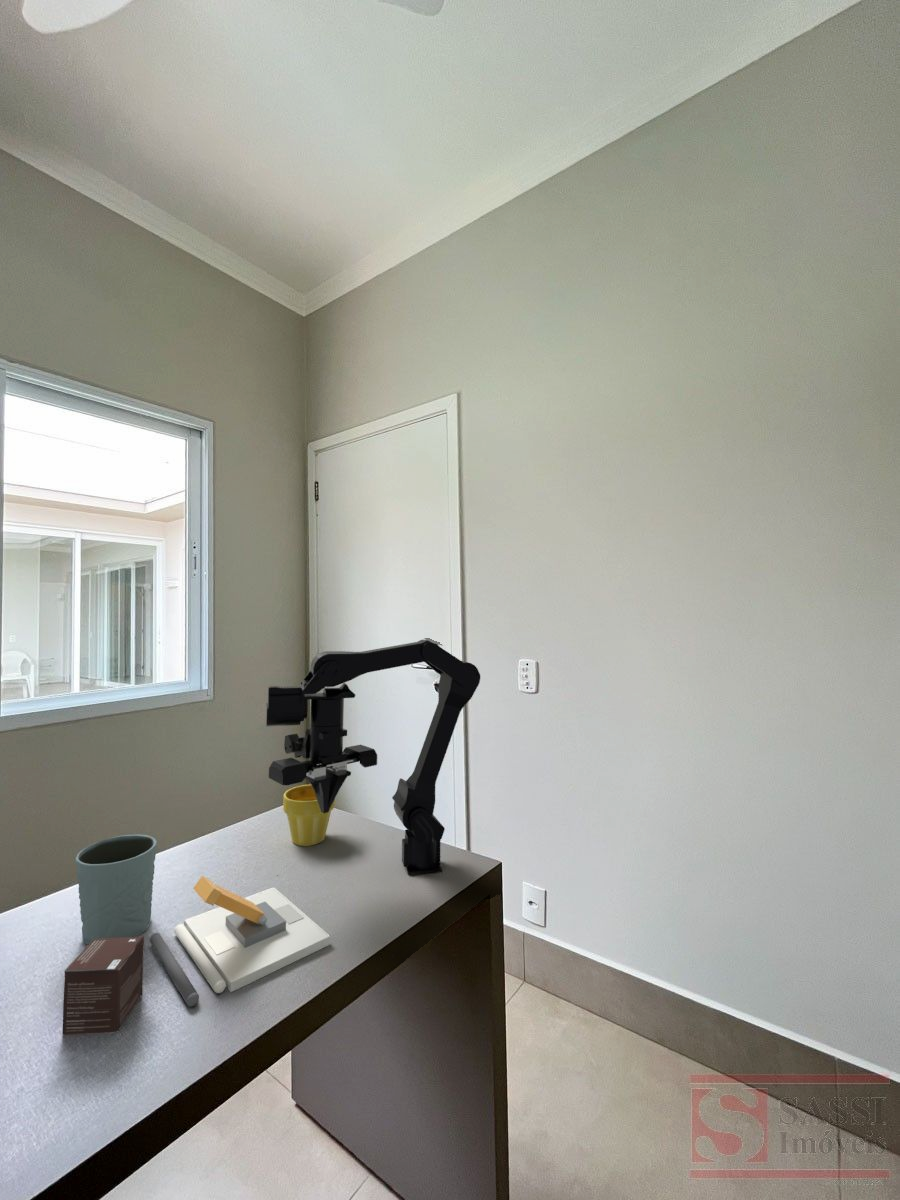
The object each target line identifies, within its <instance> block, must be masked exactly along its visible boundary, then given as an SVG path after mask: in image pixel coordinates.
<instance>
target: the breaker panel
mask: <svg viewBox="0 0 900 1200" xmlns="http://www.w3.org/2000/svg"><path fill="white" fill-rule="evenodd" d="M243 898H244V899H246V900H248V901H250V902H253V903H254V904H255V905H256V906H257V907H258V908H259V909H260V910H261V911H262V912H263V913H264V914H265V915H264V916H265V917H266V918H267V921H266V923H265V924H264V925H261V924H260V923H259V924H257V923H255V922H253V921H250V920H248V919H246V918H244V917H242V916H240V915H237V914H235V913H233V912H231V911H229V910H227V909H224V908H222V907H220V906H218V907H216V908H213V909H211V910H208V911H205V912H202V913H200V914H197V915H194V916H191V917H188V918H186V919H184V920H183V921H184V924H183V925H184V926H185V927H186V929H187V930H188V931H189V933H190V934H191V936H192V937H193V938H194V940H195V941H196V942H197V944H198V945H199V947H200V948H201V949H202V951H203V952H204V953H205V955H206V956H207V957H208V959H209V960H210V962H211V963H212V964H213V966H214V967H215V968H216V970H217V971H218V972H219V974H220V975H221V977H222V978H223V979H224V981H225V982H226V988H227V989H228V990H229V992H230V993H232V992H233V993H234V991H237V990H239V989H241V988H242V987H245V986H247V985H249V984H251V983H254V982H255V981H258V980H260V979H261V978H263V977H266V976H267V975H270V974H272V973H274V972H275V971H278V970H280V969H283V968H284V967H287V966H288V965H290V964H293V963H295V962H296V961H298V960H301V959H303V958H305V957H308V956H309V955H312V954H313V953H316V952H317V951H320V950H322V949H324V948H326V947H328V946H330V945H331V936H330V935H329V933H327V932H326V931H325V930H324V929H323V928H322V927H320V926H319V925H318V924H317V923H316V922H315V921H313V919H311V918H310V917H309V916H308V915H306V914H305V913H304V912H303V911H302V910H301V909H300V908H299V907H297V906H296V905H295V904H294V903H293V902H291V901H290V900H289V899H288V898H287V897H286V896H285V895H284V894H282V893H281V892H280V891H279V890H278V889H277V888H275V886H274V887H271V888H268V889H265V890H262V891H259V892H257V893H254V894H252V895H248V896H246V897H243Z"/></svg>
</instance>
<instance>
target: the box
mask: <svg viewBox="0 0 900 1200" xmlns="http://www.w3.org/2000/svg"><path fill="white" fill-rule="evenodd" d="M144 939H145V937H144V936H136V937H124V938H99V939H93V941H92V942H91V943H90V944H89V945H87V946H86V947H85V948H84V949H83V950H82V952H80V953H79V954H78V956H77V957H76V958H75V959H74V960H73V961H72V962H71V963H70V964H69V965H68V966H67V968H66V969H65V970H64V983H63V985H64V986H63V1001H62V1002H63V1004H62V1005H63V1006H62V1033H61V1034H62V1035H63V1036H64V1037H73V1036H80V1035H81V1036H82V1035H97V1034H99V1035H100V1034H110V1035H111V1034H116V1033H118V1032H119V1031H120V1029H121V1027H122V1026H123V1025H124V1023H125V1022H126V1020H127V1019H128V1017H129V1015H130V1014H131V1013H132V1011H133V1010H134V1008H135V1006H136V1005H137V1003H138V1002H139V1001H140V999H141V997H142V996H143V991H144V990H143V989H144V988H143V983H144V982H143V981H144V978H143V977H144V949H145V948H144Z"/></svg>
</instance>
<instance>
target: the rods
mask: <svg viewBox="0 0 900 1200" xmlns="http://www.w3.org/2000/svg"><path fill="white" fill-rule="evenodd" d="M173 933H174V934H175V936H176V937H177V939H178V940H179V942H180V943H181V945H182V946H183V947H184V949H185V951H186V952H187V953H188V954H189V956H190V957H191V959H192V960H193V962H194V964H195V965H196V966H197V968H198V969H199V971H200V972H201V974H202V975H203V977H204V978H205V980H206V981H207V982H208V983H209V985H210V987H211V988H212V990H213V991H214V992H215V993H216V994H221V993H223V992H224V991H225V989H226V988H227V986H226V982H225V981H224V979H223V978H222V977H221V975H220V974H219V972H218V971H217V970H216V968H215V967H214V966H213V964H212V963H211V962H210V960H209V959H208V957H207V956H206V955H205V953H204V952H203V951H202V949H201V948H200V947H199V945H198V944H197V942H196V941H195V940H194V938H193V937H192V936H191V934H190V933H189V931H188V930H187V929H186V927H185V926H184V924H183V923H179V924H177V925H175V928H174V929H173ZM149 943H150V945H151V946H152V948H153V950H154V951H155V953H156V954H157V957H158V958H159V960H160V961H161V963H162V965H163V967H164V968H165V970H166V971H167V973H168V976H170V978H171V980H172V981H173V983H174V984H175V987H176V988H177V990H178V992H179V993H180V995H181V997H182V998H183V1001H184V1002H185V1003H186V1005H187V1006H188V1007H194V1006H195V1005H197V1004H198V1002H199V999H200V996H199V993H198V991H197V990H196V988H195V987H194V985H193V983H192V982H191V980H190V979H189V978H188V975H187V974H186V973H185V971H184V969H183V968H182V966H181V965H180V963H179V962H178V960H177V959H176V957H175V955H174V954H173V952H172V951H171V949H170V948H169V946H168V944H167V943H166V942H165V939H164V938H163V937H162V935H161V934H160V933H159V932H154V933H153V934H152V935H151V936H150V937H149Z"/></svg>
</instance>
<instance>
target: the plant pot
mask: <svg viewBox="0 0 900 1200" xmlns="http://www.w3.org/2000/svg"><path fill="white" fill-rule="evenodd" d="M282 800H283V802H282V803H283V804H282V805H283V807H282V809H283V812H284V814H286V816H287V822H288V827H289V831H290V837H291V840H292V841H291V842H292V843H293V844H295V845H297V846H301V847H302V846H303V847H310V846H314V845H318V844H320V843H322V842H323V841H324V840H325V838H326V834H327V830H328V825H329V821H330V817H331V812H332V811H333V809H334V808H335V806H336V804H335V802H336V798H335V799H334V801H333V803H332V805H331V807H330V809H329V812H328V813H322V812H321V810H320V807H319V804H318V801H317V798H316V795H315V792H314V789H313V787H312V785H311V783H310V784H301V785H298V786H295V787H291V788H290V789H287V790H286V791H285V792H284V793H283V798H282Z"/></svg>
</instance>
